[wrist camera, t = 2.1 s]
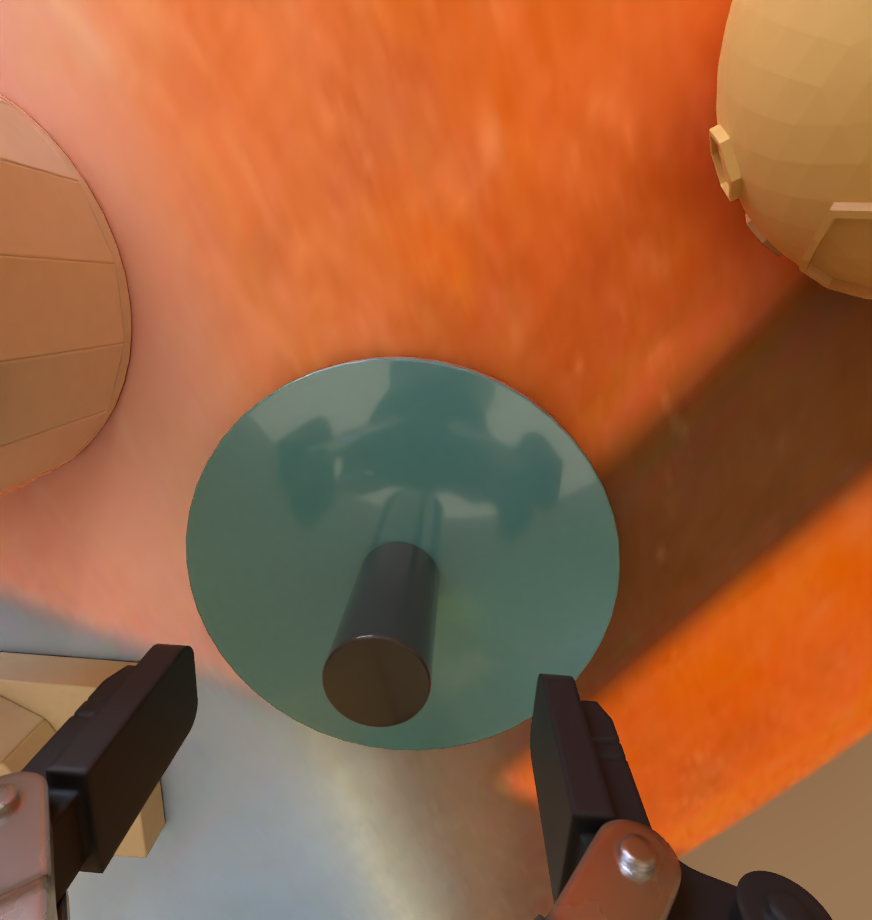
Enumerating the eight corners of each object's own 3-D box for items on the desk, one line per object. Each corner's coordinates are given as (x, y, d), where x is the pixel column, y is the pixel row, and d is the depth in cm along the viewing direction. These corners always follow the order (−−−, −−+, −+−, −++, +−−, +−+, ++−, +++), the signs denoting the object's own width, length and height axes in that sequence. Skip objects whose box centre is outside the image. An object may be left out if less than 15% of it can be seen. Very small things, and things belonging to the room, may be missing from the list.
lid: (643, 367, 17) (743, 410, 11) (581, 740, 21) (629, 920, 15) (185, 340, 17) (36, 366, 11) (215, 711, 21) (119, 874, 15)
